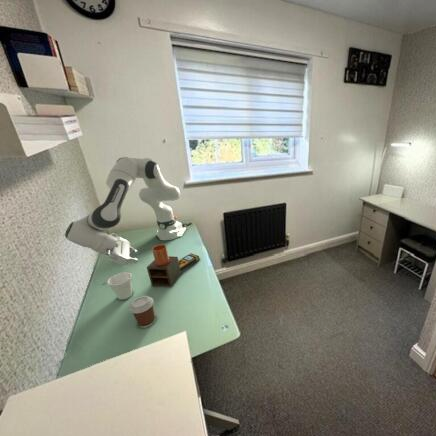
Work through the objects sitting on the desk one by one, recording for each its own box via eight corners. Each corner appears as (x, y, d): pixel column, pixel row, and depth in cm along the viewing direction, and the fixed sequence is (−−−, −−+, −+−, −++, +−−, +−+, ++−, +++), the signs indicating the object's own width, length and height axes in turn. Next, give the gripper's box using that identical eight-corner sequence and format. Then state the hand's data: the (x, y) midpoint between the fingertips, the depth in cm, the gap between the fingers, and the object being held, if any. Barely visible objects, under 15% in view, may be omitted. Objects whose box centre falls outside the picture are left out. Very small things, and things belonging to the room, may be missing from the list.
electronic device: (169, 269, 141) (168, 265, 140) (190, 256, 154) (189, 252, 153) (179, 273, 138) (178, 268, 136) (200, 260, 151) (199, 255, 149)
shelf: (162, 273, 138) (158, 255, 133) (181, 274, 137) (177, 256, 132) (151, 285, 128) (146, 267, 123) (171, 286, 127) (166, 268, 122)
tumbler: (160, 258, 131) (156, 244, 127) (171, 258, 130) (168, 244, 127) (153, 265, 125) (149, 250, 121) (165, 265, 124) (161, 251, 121)
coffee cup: (147, 332, 100) (140, 311, 95) (130, 327, 103) (122, 306, 98) (163, 316, 108) (157, 296, 104) (147, 312, 111) (140, 292, 106)
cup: (141, 290, 124) (136, 272, 120) (127, 303, 115) (121, 285, 111) (123, 288, 125) (117, 271, 121) (108, 302, 116) (101, 284, 112)
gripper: (110, 249, 103) (141, 262, 112) (113, 231, 119) (140, 243, 128) (101, 261, 103) (133, 272, 111) (105, 241, 119) (133, 252, 127)
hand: (137, 257), depth 120 cm, fingers open, 8 cm apart
